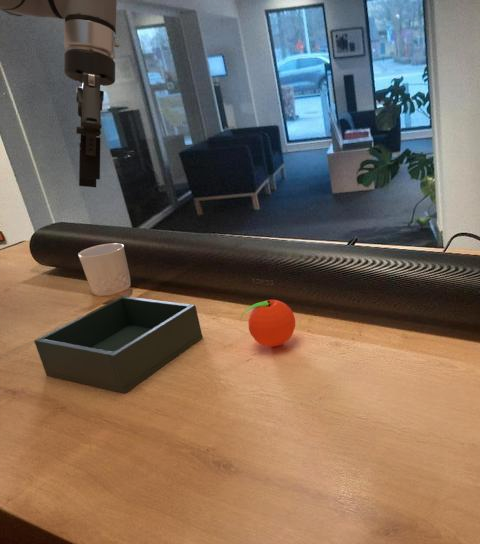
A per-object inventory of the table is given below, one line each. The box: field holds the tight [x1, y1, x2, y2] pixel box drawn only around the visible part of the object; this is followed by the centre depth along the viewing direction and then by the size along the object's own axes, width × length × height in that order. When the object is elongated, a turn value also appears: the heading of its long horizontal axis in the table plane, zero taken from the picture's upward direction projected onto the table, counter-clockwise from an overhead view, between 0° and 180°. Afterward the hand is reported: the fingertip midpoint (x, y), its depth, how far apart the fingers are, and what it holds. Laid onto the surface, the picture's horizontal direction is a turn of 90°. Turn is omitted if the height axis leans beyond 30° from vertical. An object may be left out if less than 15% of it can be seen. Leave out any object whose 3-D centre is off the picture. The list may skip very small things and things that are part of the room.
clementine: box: [239, 299, 296, 348], centre depth 74 cm, size 8×7×7 cm
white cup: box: [77, 242, 134, 305], centre depth 96 cm, size 8×8×10 cm
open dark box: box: [33, 296, 204, 394], centre depth 74 cm, size 16×16×6 cm
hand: (88, 183), depth 84 cm, fingers open, 13 cm apart
